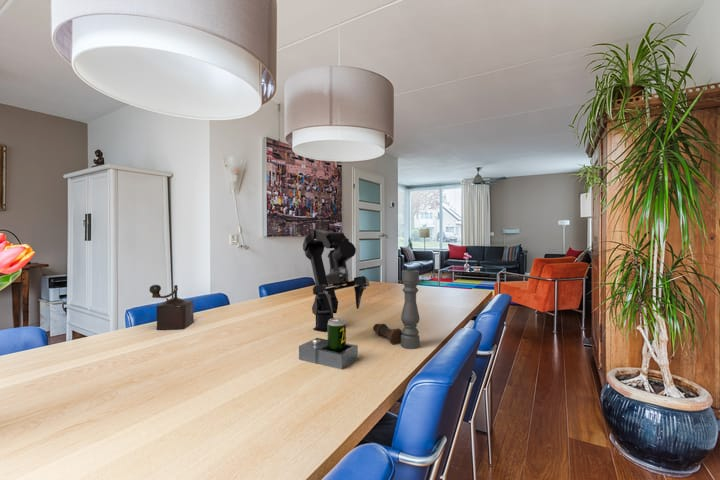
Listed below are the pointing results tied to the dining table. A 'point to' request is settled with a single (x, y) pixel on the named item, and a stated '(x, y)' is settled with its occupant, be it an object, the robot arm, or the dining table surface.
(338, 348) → the beer can
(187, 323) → the manual coffee grinder
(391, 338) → the bolt
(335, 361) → the jig
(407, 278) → the turned furniture leg
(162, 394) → the dining table surface
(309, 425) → the dining table surface
